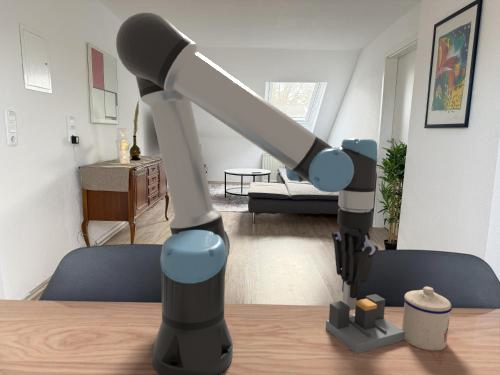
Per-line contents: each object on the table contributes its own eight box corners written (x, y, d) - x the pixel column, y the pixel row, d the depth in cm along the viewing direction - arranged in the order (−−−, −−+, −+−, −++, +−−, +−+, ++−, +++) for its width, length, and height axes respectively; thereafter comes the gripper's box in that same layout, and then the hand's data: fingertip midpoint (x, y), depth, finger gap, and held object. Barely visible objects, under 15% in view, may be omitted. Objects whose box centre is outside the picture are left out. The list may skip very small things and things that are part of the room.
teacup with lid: (455, 354, 69) (461, 299, 68) (407, 350, 70) (413, 295, 69) (432, 323, 81) (437, 276, 79) (391, 320, 82) (395, 273, 81)
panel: (355, 353, 69) (357, 323, 68) (325, 328, 78) (327, 301, 77) (404, 340, 74) (406, 311, 73) (370, 318, 83) (372, 292, 82)
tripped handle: (363, 330, 73) (365, 307, 73) (354, 323, 76) (355, 300, 76) (375, 327, 75) (376, 304, 74) (365, 320, 77) (366, 298, 77)
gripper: (390, 213, 72) (382, 319, 76) (349, 202, 84) (343, 294, 87) (362, 216, 69) (355, 325, 73) (324, 204, 81) (319, 299, 84)
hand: (348, 308), depth 80 cm, fingers closed
